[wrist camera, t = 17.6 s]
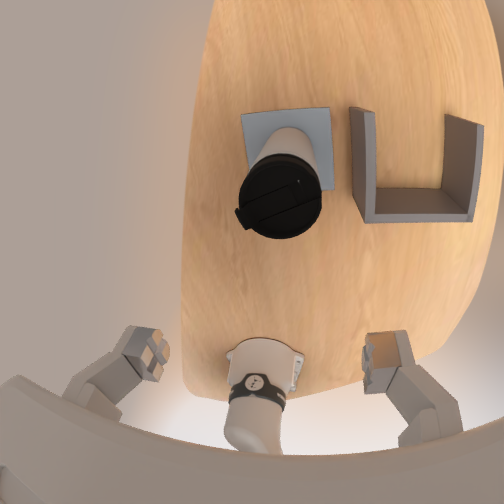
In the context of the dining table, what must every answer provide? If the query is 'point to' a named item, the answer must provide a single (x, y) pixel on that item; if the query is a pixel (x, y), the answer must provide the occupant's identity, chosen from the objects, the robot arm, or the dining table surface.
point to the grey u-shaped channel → (418, 199)
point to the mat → (306, 119)
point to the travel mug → (281, 187)
